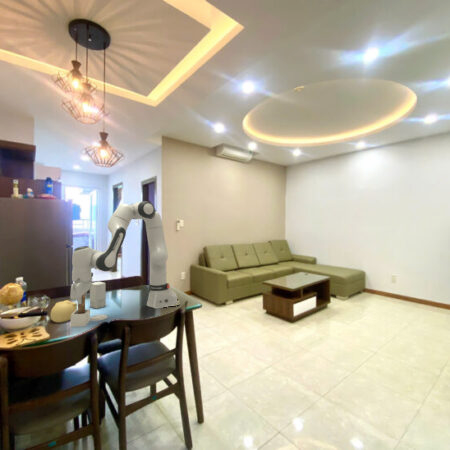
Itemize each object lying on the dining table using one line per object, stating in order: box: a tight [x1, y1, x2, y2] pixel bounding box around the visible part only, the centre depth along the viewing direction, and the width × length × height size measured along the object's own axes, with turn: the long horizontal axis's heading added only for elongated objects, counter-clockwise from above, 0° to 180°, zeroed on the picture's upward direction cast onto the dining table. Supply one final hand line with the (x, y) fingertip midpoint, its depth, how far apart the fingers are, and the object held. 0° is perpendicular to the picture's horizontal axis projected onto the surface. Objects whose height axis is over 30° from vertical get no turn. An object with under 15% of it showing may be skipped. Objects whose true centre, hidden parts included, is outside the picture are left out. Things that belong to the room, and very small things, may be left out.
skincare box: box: [89, 281, 107, 310], centre depth 158 cm, size 8×7×16 cm
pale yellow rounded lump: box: [50, 299, 78, 324], centre depth 135 cm, size 11×12×11 cm
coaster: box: [90, 314, 108, 322], centre depth 139 cm, size 9×9×1 cm
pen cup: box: [70, 308, 91, 328], centre depth 130 cm, size 7×7×7 cm
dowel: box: [77, 294, 86, 314], centre depth 130 cm, size 3×3×15 cm
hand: (81, 302), depth 130 cm, fingers closed on dowel, 3 cm apart
